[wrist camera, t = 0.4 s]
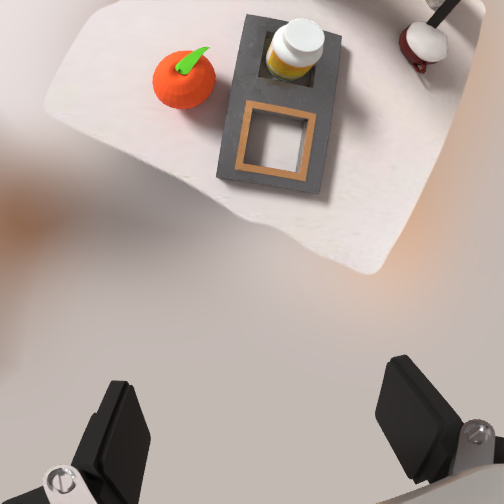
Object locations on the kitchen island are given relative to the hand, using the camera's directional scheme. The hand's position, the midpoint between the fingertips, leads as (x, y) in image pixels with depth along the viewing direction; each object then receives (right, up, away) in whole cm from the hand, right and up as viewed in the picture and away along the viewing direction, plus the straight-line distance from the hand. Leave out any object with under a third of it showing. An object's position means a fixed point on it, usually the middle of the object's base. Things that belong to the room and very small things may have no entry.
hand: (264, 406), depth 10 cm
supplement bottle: (+4, +29, +23) cm, 37 cm away
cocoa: (+23, +35, +23) cm, 47 cm away
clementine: (-8, +26, +23) cm, 35 cm away
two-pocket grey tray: (+3, +24, +24) cm, 34 cm away
